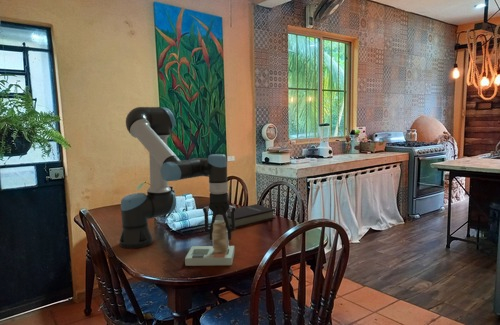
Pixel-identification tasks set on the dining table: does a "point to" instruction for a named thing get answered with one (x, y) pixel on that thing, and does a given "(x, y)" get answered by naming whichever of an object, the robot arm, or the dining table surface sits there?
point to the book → (250, 215)
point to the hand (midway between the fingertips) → (220, 247)
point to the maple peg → (220, 237)
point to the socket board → (208, 256)
